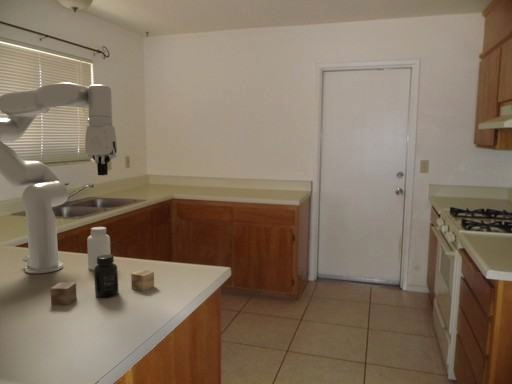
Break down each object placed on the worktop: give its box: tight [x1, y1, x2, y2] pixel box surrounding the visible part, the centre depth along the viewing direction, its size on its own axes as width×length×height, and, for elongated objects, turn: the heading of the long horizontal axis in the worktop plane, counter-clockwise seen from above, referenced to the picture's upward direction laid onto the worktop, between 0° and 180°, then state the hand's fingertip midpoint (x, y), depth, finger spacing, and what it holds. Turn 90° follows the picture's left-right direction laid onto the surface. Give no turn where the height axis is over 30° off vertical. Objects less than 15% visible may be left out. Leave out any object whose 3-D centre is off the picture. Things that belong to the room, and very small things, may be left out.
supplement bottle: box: [93, 254, 119, 299], centre depth 128 cm, size 7×7×12 cm
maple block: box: [130, 269, 155, 292], centre depth 135 cm, size 5×5×5 cm
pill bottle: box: [86, 226, 112, 271], centre depth 154 cm, size 8×8×15 cm
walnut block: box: [50, 282, 77, 306], centre depth 122 cm, size 5×5×5 cm
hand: (102, 175), depth 145 cm, fingers closed
